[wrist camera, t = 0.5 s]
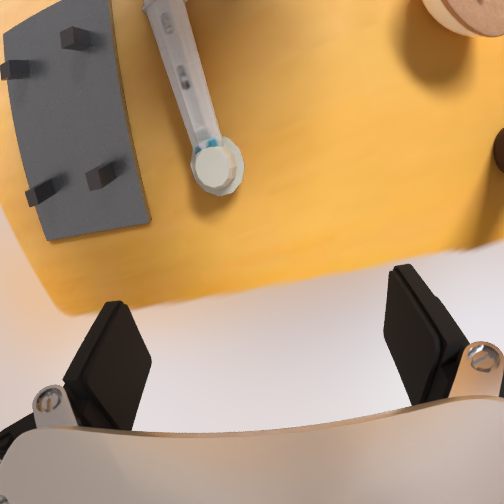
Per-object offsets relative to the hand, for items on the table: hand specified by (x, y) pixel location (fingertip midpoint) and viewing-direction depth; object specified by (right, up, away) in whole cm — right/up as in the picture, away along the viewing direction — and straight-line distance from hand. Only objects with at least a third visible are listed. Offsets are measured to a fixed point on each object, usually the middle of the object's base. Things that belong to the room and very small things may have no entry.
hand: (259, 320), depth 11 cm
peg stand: (-22, +18, +20) cm, 35 cm away
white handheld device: (-6, +21, +19) cm, 29 cm away
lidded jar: (+22, +32, +13) cm, 41 cm away
